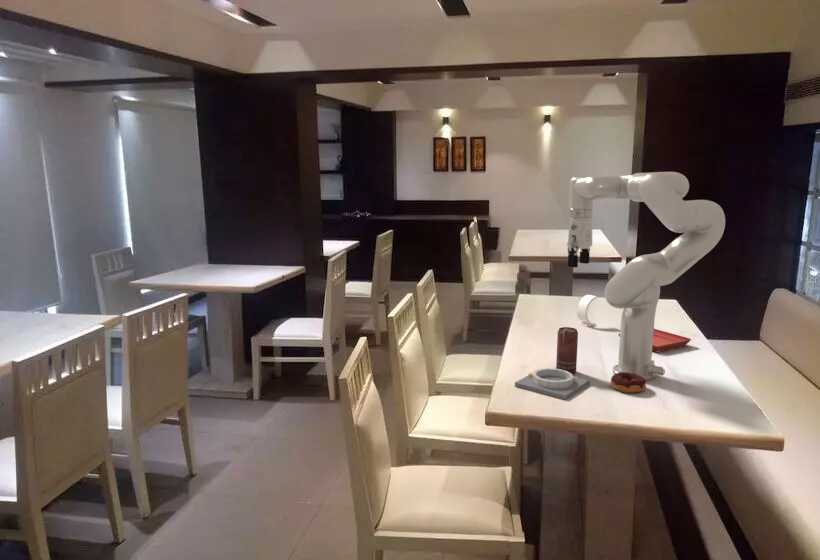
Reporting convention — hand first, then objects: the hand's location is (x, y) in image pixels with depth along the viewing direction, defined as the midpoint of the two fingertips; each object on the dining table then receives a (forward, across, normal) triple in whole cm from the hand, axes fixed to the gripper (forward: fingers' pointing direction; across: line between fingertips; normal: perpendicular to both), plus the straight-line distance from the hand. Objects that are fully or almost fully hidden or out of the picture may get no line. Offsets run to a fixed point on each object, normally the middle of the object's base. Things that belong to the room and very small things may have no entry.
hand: (578, 265), depth 199 cm
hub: (+31, -33, -7) cm, 46 cm away
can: (+31, -20, -5) cm, 38 cm away
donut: (+32, -22, -25) cm, 46 cm away
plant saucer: (+32, +28, -18) cm, 46 cm away
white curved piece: (+31, +38, +11) cm, 50 cm away
